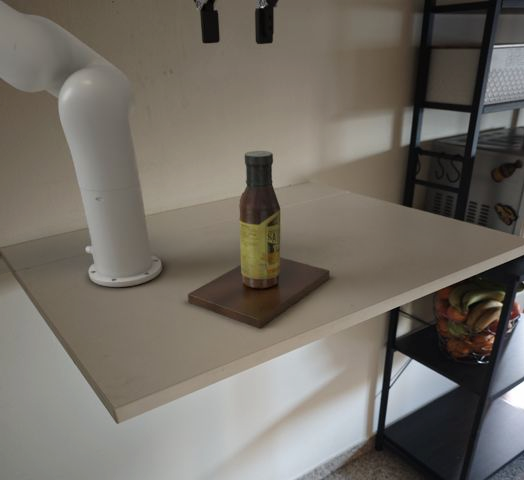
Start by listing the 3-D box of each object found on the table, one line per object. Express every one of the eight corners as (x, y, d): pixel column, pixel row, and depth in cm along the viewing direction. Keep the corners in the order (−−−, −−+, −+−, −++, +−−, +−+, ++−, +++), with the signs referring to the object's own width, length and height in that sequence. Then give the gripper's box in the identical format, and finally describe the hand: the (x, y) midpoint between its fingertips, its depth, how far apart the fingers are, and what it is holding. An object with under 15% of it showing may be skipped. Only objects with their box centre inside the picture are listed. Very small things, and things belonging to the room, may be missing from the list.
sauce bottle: (275, 292, 78) (275, 159, 67) (237, 289, 79) (230, 158, 68) (283, 274, 83) (284, 149, 72) (247, 271, 84) (242, 147, 73)
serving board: (188, 302, 79) (187, 293, 78) (263, 260, 92) (263, 252, 91) (259, 328, 72) (259, 319, 71) (329, 278, 85) (329, 270, 84)
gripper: (159, -115, 63) (174, 44, 73) (269, -138, 54) (271, 45, 64) (199, -106, 68) (208, 41, 78) (306, -126, 59) (302, 42, 69)
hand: (236, 43), depth 71 cm, fingers open, 9 cm apart
